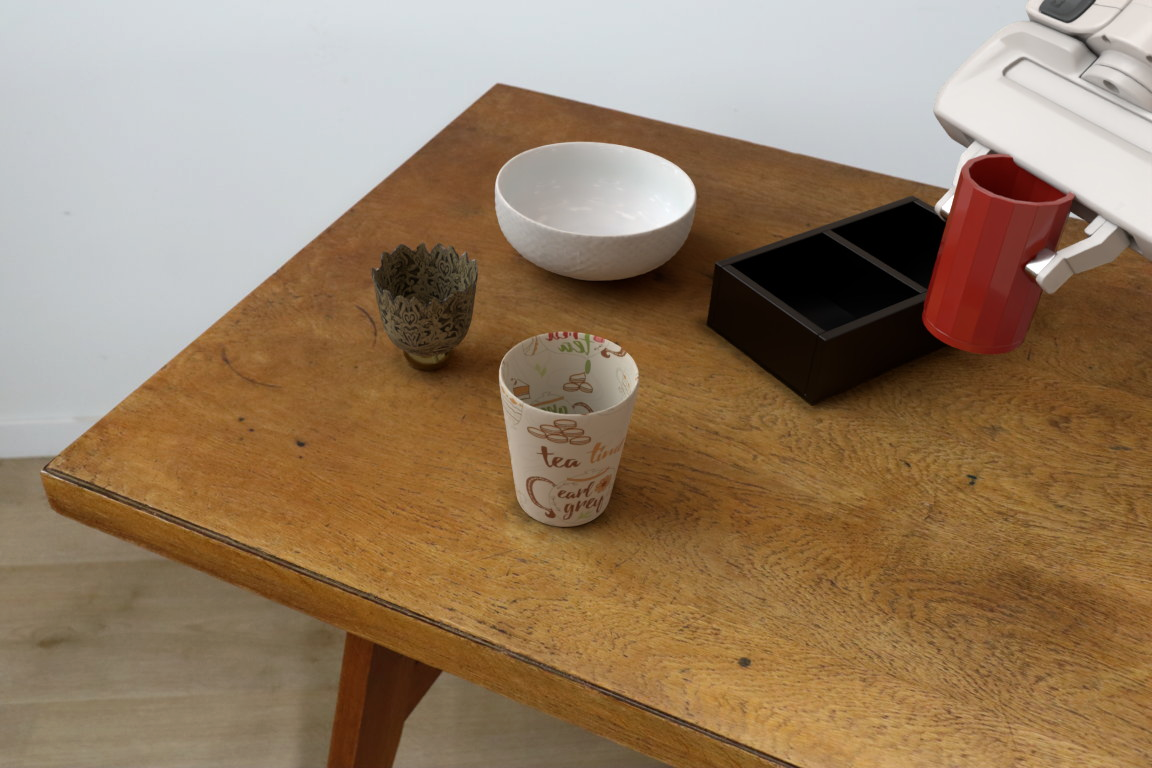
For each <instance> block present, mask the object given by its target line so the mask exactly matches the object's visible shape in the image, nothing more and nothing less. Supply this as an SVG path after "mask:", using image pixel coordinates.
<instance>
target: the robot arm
mask: <svg viewBox="0 0 1152 768" xmlns="http://www.w3.org/2000/svg"><path fill="white" fill-rule="evenodd" d="M1024 7H1025V11H1026V15H1027V17H1028V19H1029V20H1019V21H1014V22H1013V23H1012V22H1011V23H1009V24H1007V25H1005V26H1003V27H1002V28H1001V29H999V30H998V31H996V32H995V33H993V34H992V35H991V36H990V37H989V38H987V40H986V41H984V42H983V43H982V44H981V45H980V46H979V47H978V48H977V49H976V50H974V52H973V53H972V54H971V55H970V56H969V57H967V59H966V60H965V61H964V62H963V63H962V64H961V65H960V66H959V67H958V68H957V69H955V71H954V72H953V73H952V75H950V76H949V78H947V80H946V81H945V82H944V83H943V84H942V86H941V87H940V88H939V90H938V92H937V93H936V96H935V99H934V105H933V115H934V117H935V118H936V120H937V121H938V123H939V125H940V126H941V127H942V129H943V131H945V133H946V134H947V135H948V137H949V138H950V139H951V140H953V141H954V142H956V143H957V144H959V145H961V146H963V147H964V148H966V149H965V150H964V151H963V152H962V153H961V154H960V157H959V160H958V163H957V166H956V169H955V174H954V177H953V180H952V184H951V185H952V186H951V188H949V189H948V190H947V192H946V193H945V194H944V195H943V196H942V197H941V198H940V199H939V200H938V201H937V202H936V203H935V205H934V207H935V212H936V213H937V214H938V216H939V217H940V218H941V219H942V220H943V221H945V222H946V223H947V219H948V215H949V212H950V208H951V204H952V201H953V197H954V194H955V190H956V186H957V183H958V179H959V175H960V172H961V168H962V167H963V166H964V164H965V163H966V162H967V161H968V160H969V159H972V158H975V157H978V156H981V155H991V154H1007V155H1010V156H1011V157H1013V161H1014V162H1015V164H1016V165H1017V166H1019V167H1021V168H1022V169H1024V170H1026V171H1027V172H1029V173H1031V174H1032V175H1034V176H1036V177H1037V178H1039V179H1041V180H1042V181H1044V182H1046V183H1047V184H1049V185H1051V186H1052V187H1054V188H1056V189H1057V190H1059V191H1061V192H1062V193H1064V194H1066V195H1067V194H1068V192H1069V191H1070V192H1072V193H1073V194H1075V198H1074V200H1075V201H1074V204H1073V206H1072V209H1071V212H1070V213H1071V214H1073V215H1075V216H1076V217H1078V218H1080V219H1081V220H1083V221H1084V222H1086V223H1088V225H1087V227H1085V228H1084V234H1085V235H1086V238H1084V239H1082V240H1080V241H1078V242H1076V243H1073V244H1071V245H1069V246H1067V247H1064V248H1062V249H1060V250H1057V252H1056V253H1055V252H1054V251H1052V250H1051V249H1049V248H1047V247H1045V248H1044V249H1043V250H1041V251H1040V252H1039V253H1038V254H1037V255H1036V258H1035V259H1034V260H1031V261H1030V262H1029V263H1028V264H1027V265H1026V266H1025V269H1024V273H1025V275H1026V276H1027V277H1028V279H1029V280H1030V281H1031V282H1033V283H1034V284H1035V285H1037V286H1038V287H1039V288H1041V289H1042V290H1043V292H1044V293H1046V294H1049V295H1051V294H1052V295H1053V294H1054V293H1056V292H1057V291H1058V290H1059V288H1061V287H1062V286H1063V285H1064V284H1065V283H1066V282H1067V281H1068V280H1069V279H1070V277H1072V276H1074V274H1075V275H1079V274H1081V273H1083V272H1086V271H1087V272H1088V271H1090V270H1092V269H1096V268H1097V267H1100V266H1104V265H1106V264H1110V263H1113V262H1114V261H1115V260H1116V259H1117V258H1118V257H1119V256H1120V255H1121V254H1122V253H1123V252H1125V250H1126V249H1127V248H1128V249H1130V250H1132V251H1133V252H1135V253H1137V254H1138V255H1140V256H1141V257H1143V258H1144V259H1147V260H1148V261H1150V262H1151V263H1152V0H1028V1H1027V2H1026V4H1025V6H1024Z"/></svg>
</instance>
